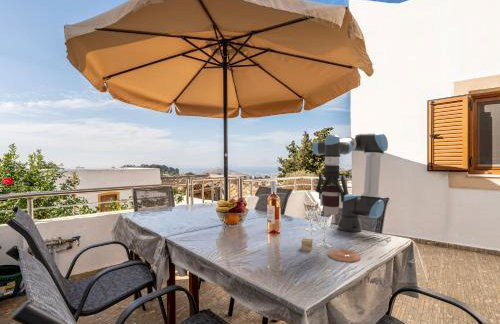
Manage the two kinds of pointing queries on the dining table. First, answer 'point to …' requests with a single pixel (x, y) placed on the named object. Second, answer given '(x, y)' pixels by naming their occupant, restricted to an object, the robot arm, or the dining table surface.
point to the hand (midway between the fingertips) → (331, 206)
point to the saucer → (344, 255)
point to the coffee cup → (331, 199)
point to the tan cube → (306, 244)
